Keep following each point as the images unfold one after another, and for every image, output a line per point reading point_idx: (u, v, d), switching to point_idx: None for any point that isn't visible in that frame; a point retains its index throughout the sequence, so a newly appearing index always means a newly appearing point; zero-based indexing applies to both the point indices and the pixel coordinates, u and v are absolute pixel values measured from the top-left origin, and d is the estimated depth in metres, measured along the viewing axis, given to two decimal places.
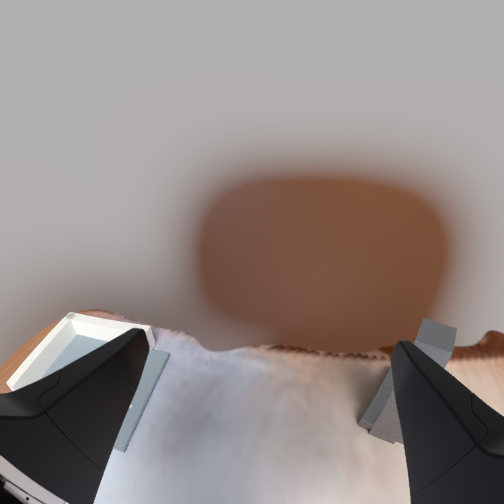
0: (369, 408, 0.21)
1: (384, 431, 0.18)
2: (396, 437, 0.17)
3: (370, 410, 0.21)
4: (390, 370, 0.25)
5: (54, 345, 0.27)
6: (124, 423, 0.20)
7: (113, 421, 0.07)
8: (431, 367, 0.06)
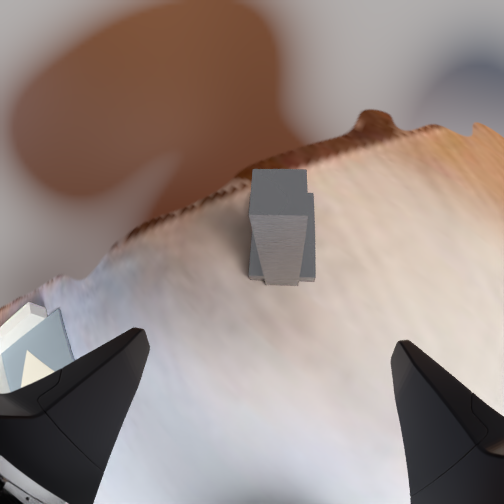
0: (251, 259, 0.24)
1: (279, 280, 0.23)
2: (296, 281, 0.23)
3: (253, 260, 0.24)
4: None
5: None
6: None
7: (113, 421, 0.07)
8: (431, 367, 0.06)
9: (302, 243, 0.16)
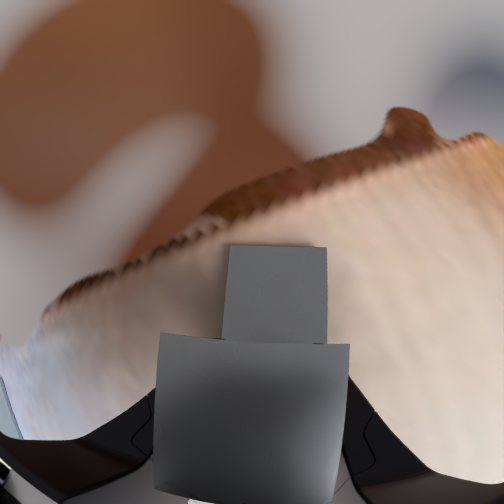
0: None
1: None
2: None
3: None
4: (231, 262, 0.16)
5: None
6: None
7: None
8: None
9: None
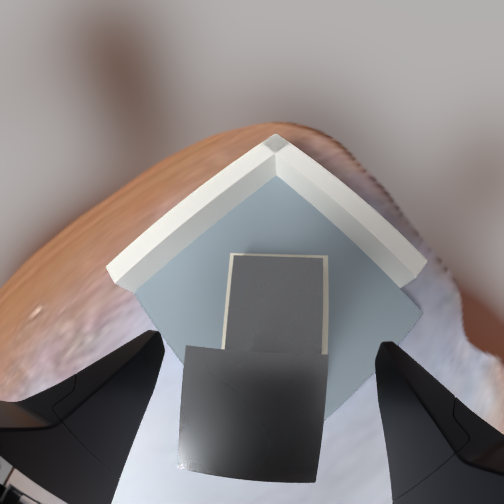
0: None
1: None
2: None
3: None
4: (234, 271, 0.17)
5: (224, 200, 0.19)
6: None
7: (129, 427, 0.07)
8: (413, 369, 0.06)
9: None
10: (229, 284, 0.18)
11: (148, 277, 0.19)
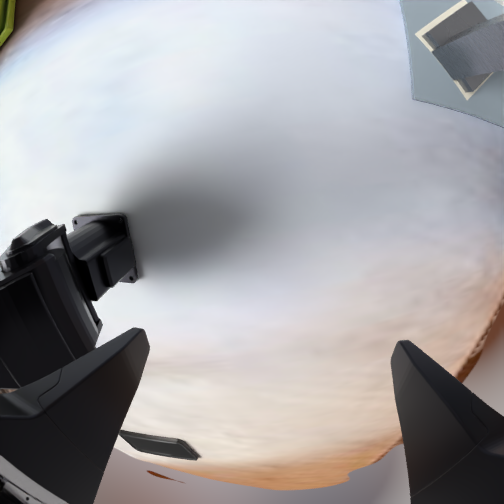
0: (438, 26, 0.11)
1: (449, 60, 0.12)
2: (459, 76, 0.12)
3: (439, 29, 0.11)
4: (468, 5, 0.09)
5: None
6: (445, 93, 0.14)
7: (113, 421, 0.07)
8: (431, 367, 0.06)
9: None
10: (455, 6, 0.10)
11: None
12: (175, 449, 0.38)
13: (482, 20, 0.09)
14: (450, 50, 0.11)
